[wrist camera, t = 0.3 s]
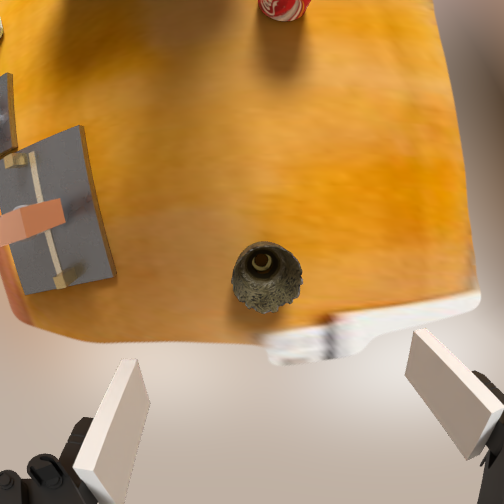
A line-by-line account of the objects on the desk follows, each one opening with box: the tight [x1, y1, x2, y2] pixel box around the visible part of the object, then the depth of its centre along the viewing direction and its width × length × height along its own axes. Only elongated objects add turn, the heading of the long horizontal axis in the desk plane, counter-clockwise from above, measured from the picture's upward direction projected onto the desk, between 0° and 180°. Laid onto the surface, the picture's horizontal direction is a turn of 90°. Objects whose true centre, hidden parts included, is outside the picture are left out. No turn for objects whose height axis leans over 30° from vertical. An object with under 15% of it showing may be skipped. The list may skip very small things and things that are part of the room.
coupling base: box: [0, 125, 117, 295], centre depth 35 cm, size 20×16×6 cm
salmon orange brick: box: [0, 198, 66, 247], centre depth 27 cm, size 4×13×9 cm, turn 101°
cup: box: [231, 241, 303, 314], centre depth 37 cm, size 7×7×8 cm
